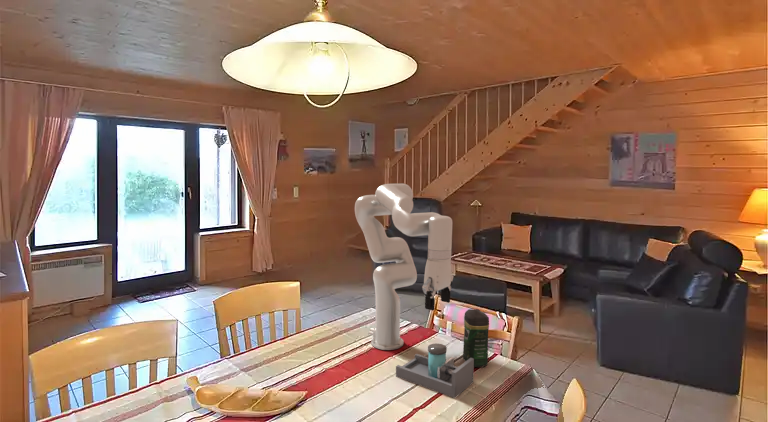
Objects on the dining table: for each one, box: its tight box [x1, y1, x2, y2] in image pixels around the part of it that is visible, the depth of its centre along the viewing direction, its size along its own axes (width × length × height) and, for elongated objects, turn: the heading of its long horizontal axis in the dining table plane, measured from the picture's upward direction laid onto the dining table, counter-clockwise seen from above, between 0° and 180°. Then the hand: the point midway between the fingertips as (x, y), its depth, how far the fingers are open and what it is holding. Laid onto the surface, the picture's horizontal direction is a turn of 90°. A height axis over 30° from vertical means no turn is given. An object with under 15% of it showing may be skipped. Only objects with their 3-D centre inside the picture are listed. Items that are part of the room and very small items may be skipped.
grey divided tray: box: [395, 353, 475, 399], centre depth 144 cm, size 22×12×8 cm, turn 53°
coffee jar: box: [462, 308, 490, 368], centre depth 156 cm, size 10×8×19 cm
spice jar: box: [427, 343, 448, 378], centre depth 143 cm, size 6×6×10 cm
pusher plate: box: [437, 356, 455, 381], centre depth 141 cm, size 4×9×6 cm, turn 143°
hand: (437, 305), depth 144 cm, fingers open, 9 cm apart
